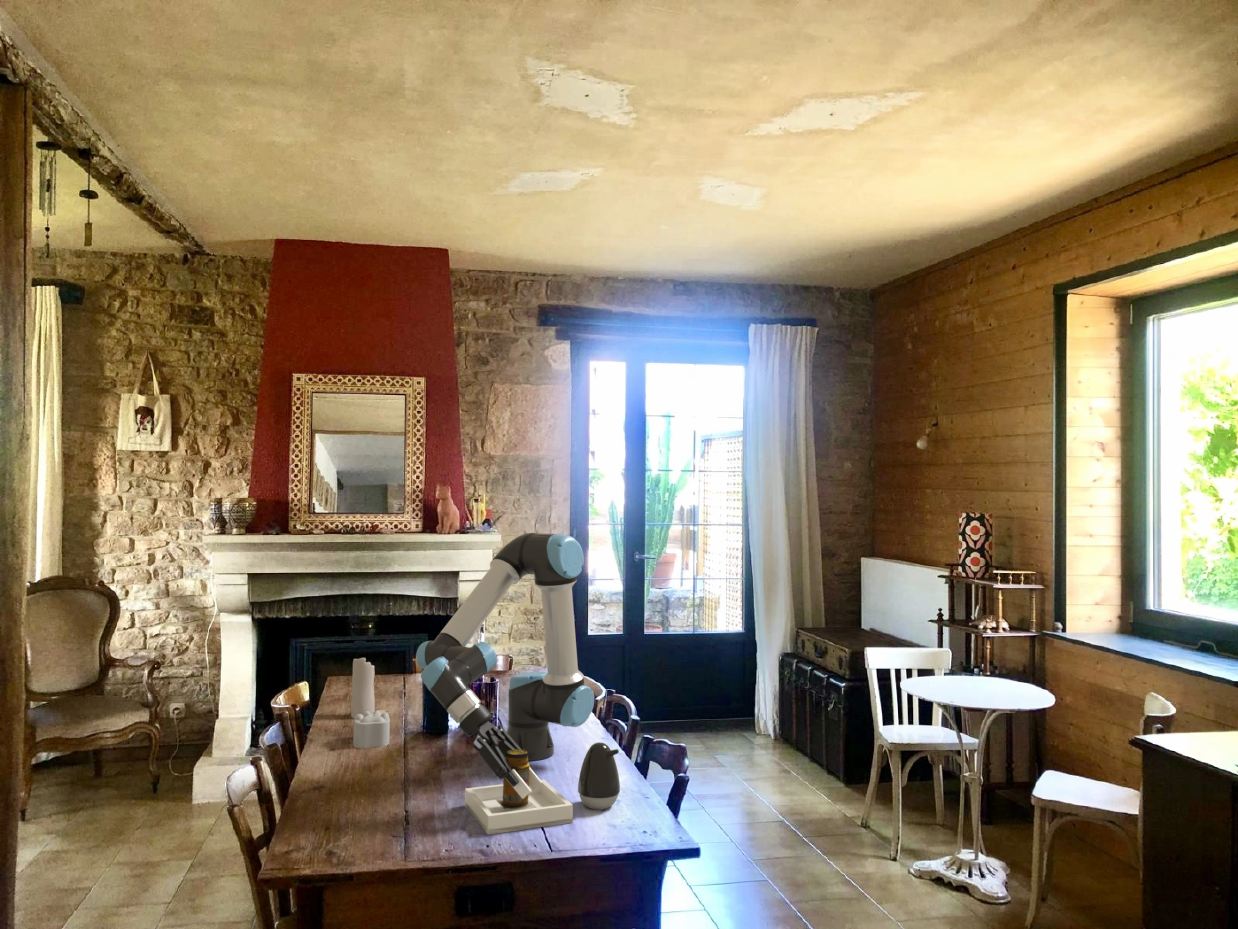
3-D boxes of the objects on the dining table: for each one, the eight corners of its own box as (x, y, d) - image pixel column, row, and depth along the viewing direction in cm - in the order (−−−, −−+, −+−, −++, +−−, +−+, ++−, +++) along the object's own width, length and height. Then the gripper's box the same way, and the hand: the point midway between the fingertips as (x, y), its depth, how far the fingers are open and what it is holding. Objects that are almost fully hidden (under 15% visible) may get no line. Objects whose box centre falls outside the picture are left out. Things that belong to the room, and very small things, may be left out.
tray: (543, 795, 223) (543, 779, 223) (572, 822, 205) (572, 805, 205) (464, 805, 215) (465, 788, 215) (488, 834, 197) (488, 816, 197)
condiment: (524, 797, 215) (526, 746, 215) (536, 808, 207) (538, 756, 208) (495, 800, 212) (497, 749, 212) (506, 812, 204) (508, 759, 204)
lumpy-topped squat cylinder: (353, 749, 260) (354, 719, 261) (352, 737, 273) (353, 709, 273) (390, 746, 264) (391, 717, 264) (387, 735, 276) (388, 707, 276)
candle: (393, 712, 305) (394, 653, 306) (361, 720, 294) (363, 659, 294) (378, 709, 309) (380, 651, 310) (346, 717, 297) (348, 656, 298)
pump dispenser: (605, 816, 209) (606, 751, 210) (569, 807, 215) (570, 744, 215) (628, 804, 218) (629, 741, 219) (592, 796, 224) (593, 734, 224)
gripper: (476, 715, 224) (536, 788, 219) (441, 734, 206) (505, 814, 201) (496, 695, 223) (557, 768, 218) (463, 713, 205) (528, 793, 200)
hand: (532, 790), depth 209 cm, fingers closed on condiment, 6 cm apart
